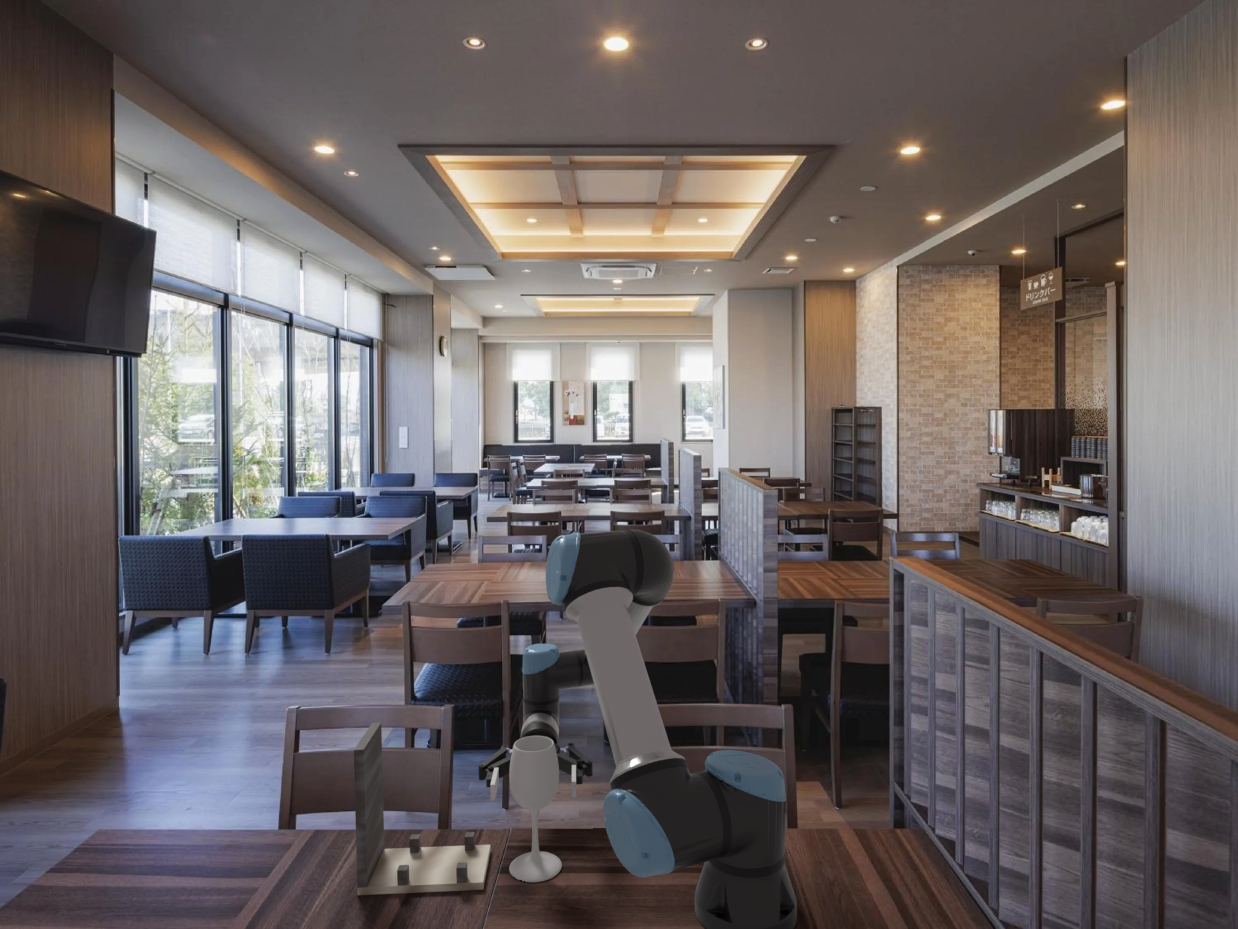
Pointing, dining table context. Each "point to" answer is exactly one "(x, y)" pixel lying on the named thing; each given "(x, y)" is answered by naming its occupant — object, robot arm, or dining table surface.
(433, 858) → the pegged display stand
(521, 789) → the wineglass
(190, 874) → the dining table surface
